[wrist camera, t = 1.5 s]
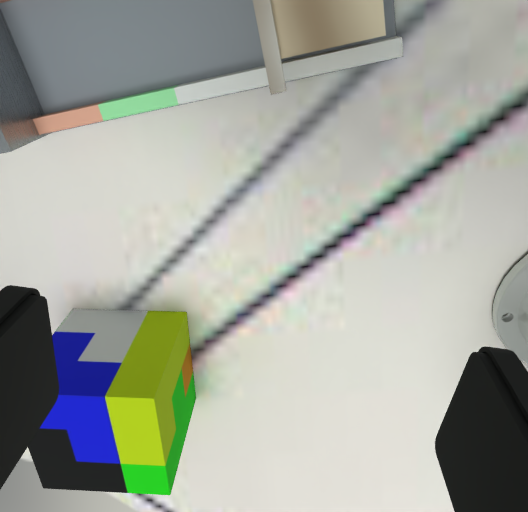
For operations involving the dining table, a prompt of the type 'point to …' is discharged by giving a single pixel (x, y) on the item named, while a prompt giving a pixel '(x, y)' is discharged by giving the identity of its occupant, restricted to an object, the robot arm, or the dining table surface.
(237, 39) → the grey metal rail
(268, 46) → the beige rectangular block
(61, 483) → the puzzle toy
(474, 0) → the dining table surface
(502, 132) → the dining table surface
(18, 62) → the grey angled bar
